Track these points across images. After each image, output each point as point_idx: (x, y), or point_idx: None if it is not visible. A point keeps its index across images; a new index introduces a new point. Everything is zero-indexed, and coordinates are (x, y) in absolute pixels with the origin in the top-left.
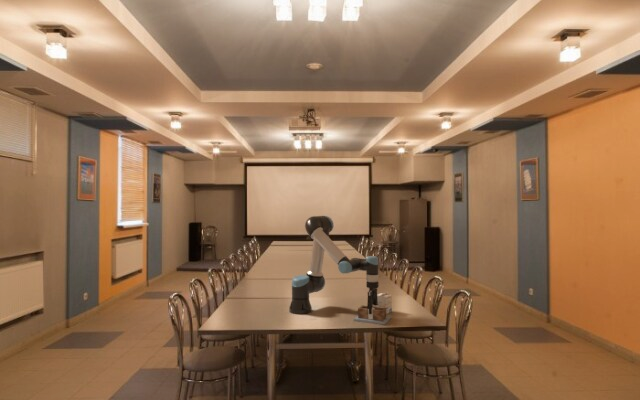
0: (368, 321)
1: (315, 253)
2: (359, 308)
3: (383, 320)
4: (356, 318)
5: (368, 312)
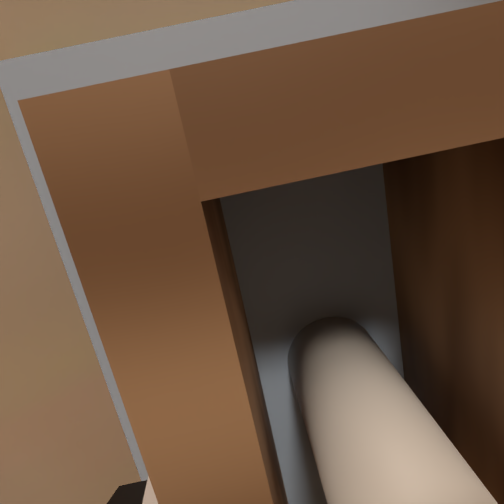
0: (114, 385)
1: None
2: (62, 167)
3: None
4: None
5: (148, 480)
